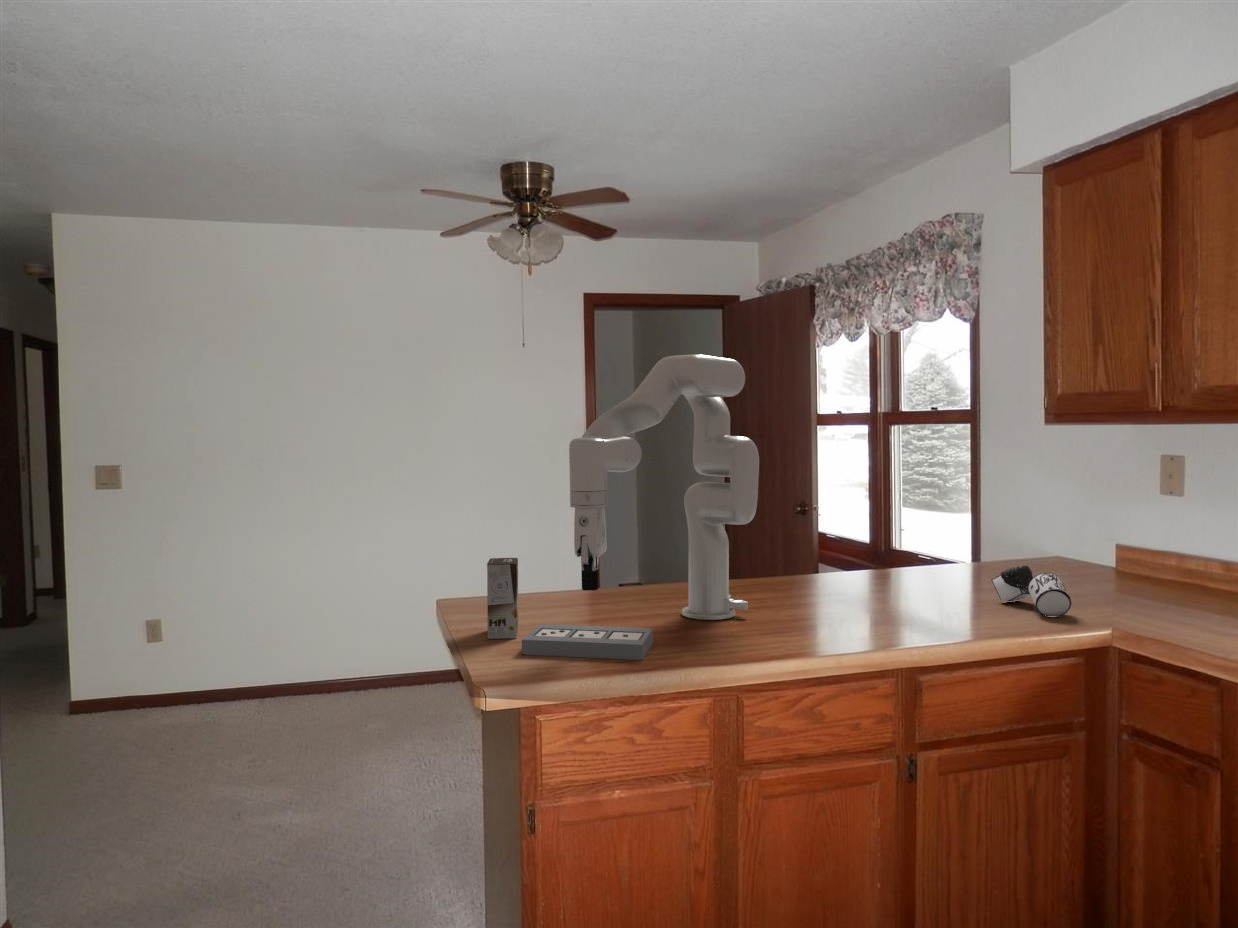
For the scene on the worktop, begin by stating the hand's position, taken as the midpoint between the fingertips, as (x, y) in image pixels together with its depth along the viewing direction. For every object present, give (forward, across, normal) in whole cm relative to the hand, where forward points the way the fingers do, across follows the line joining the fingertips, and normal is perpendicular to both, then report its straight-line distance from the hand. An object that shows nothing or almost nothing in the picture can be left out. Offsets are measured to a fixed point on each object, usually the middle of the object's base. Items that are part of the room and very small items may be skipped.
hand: (590, 589), depth 182 cm
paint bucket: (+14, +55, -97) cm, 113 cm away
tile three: (+11, -1, +8) cm, 14 cm away
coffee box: (+12, +8, +21) cm, 26 cm away
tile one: (+11, -1, -7) cm, 13 cm away
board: (+12, -1, 0) cm, 12 cm away
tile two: (+11, -1, 0) cm, 11 cm away
